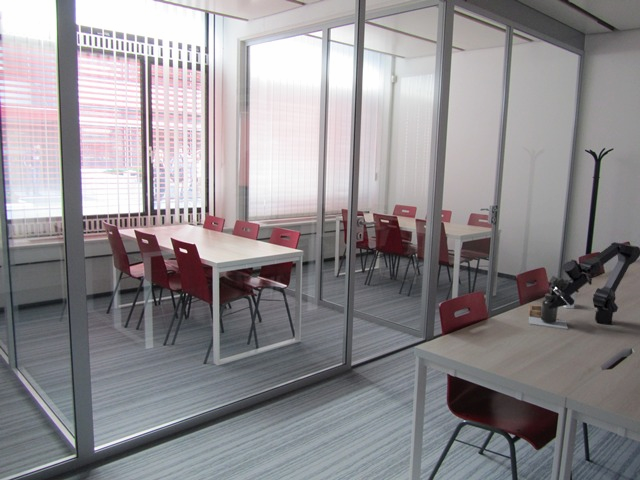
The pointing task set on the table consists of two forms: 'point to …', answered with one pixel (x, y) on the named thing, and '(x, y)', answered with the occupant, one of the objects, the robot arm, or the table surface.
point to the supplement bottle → (547, 313)
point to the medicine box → (568, 304)
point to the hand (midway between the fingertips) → (546, 305)
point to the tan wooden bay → (535, 311)
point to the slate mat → (548, 323)
